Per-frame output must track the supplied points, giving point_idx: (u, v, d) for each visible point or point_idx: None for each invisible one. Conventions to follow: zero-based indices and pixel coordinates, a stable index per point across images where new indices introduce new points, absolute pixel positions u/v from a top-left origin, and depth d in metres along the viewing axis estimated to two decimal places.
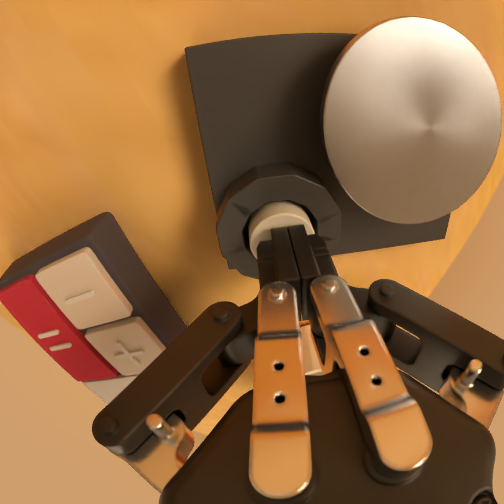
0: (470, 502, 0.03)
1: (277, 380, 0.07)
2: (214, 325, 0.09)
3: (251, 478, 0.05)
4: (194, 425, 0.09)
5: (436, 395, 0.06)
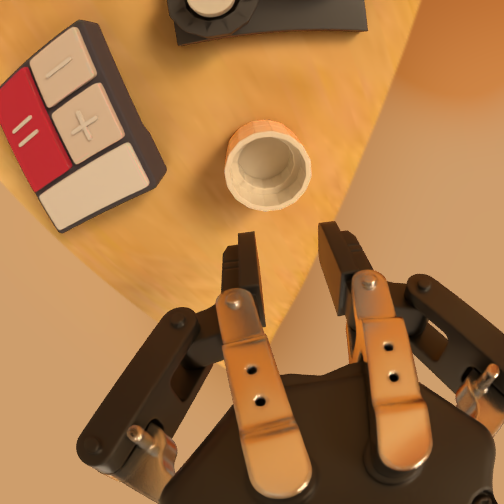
0: (470, 502, 0.03)
1: (253, 384, 0.07)
2: (172, 331, 0.09)
3: (253, 484, 0.04)
4: (173, 433, 0.08)
5: (436, 395, 0.06)
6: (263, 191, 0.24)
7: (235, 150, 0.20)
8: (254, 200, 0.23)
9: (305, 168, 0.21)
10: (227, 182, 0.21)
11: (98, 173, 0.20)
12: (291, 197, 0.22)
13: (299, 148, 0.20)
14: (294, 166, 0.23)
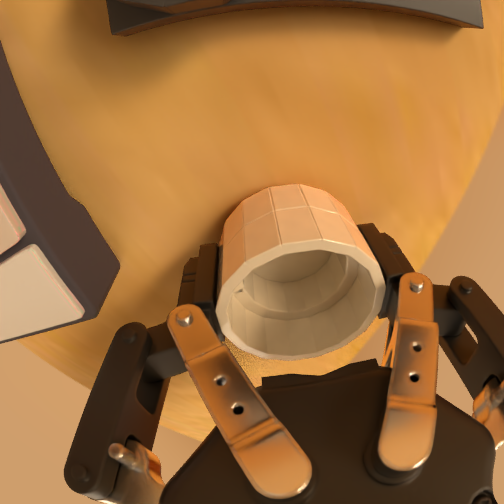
0: (470, 502, 0.03)
1: (226, 394, 0.07)
2: (127, 346, 0.09)
3: (259, 490, 0.04)
4: (151, 447, 0.08)
5: (436, 395, 0.06)
6: (287, 315, 0.13)
7: (237, 277, 0.09)
8: (272, 339, 0.12)
9: (373, 298, 0.11)
10: (222, 327, 0.11)
11: (5, 289, 0.10)
12: (338, 339, 0.12)
13: (370, 268, 0.09)
14: (345, 277, 0.12)
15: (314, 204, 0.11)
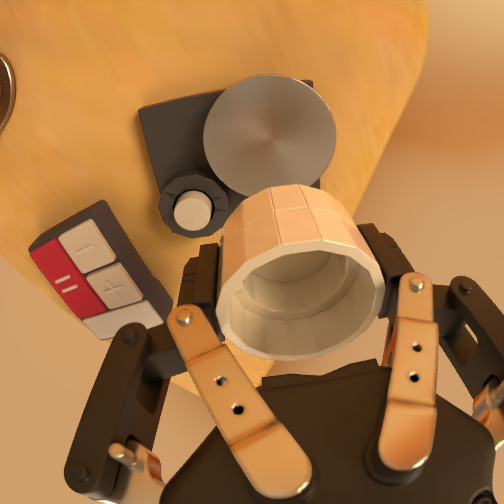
0: (470, 502, 0.03)
1: (226, 394, 0.07)
2: (127, 346, 0.09)
3: (259, 490, 0.04)
4: (151, 447, 0.08)
5: (436, 395, 0.06)
6: (287, 315, 0.13)
7: (237, 278, 0.09)
8: (272, 340, 0.13)
9: (372, 298, 0.11)
10: (222, 328, 0.11)
11: (127, 315, 0.31)
12: (338, 339, 0.12)
13: (370, 269, 0.09)
14: (345, 277, 0.12)
15: (314, 205, 0.11)
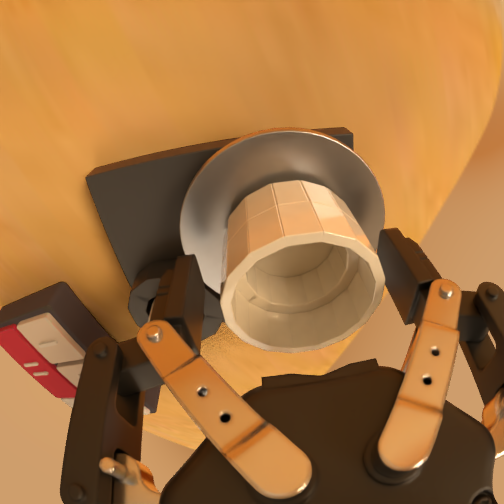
0: (470, 502, 0.03)
1: (210, 404, 0.06)
2: (100, 361, 0.08)
3: (263, 493, 0.04)
4: (139, 459, 0.08)
5: None
6: (289, 308, 0.14)
7: (241, 269, 0.10)
8: (275, 332, 0.13)
9: (372, 290, 0.11)
10: (226, 319, 0.11)
11: None
12: (339, 331, 0.12)
13: (370, 261, 0.10)
14: (346, 270, 0.13)
15: (315, 199, 0.11)
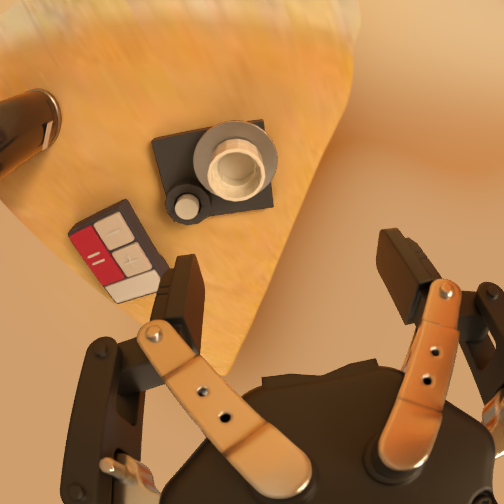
0: (470, 502, 0.03)
1: (210, 404, 0.06)
2: (100, 361, 0.08)
3: (263, 493, 0.04)
4: (139, 459, 0.08)
5: None
6: (235, 188, 0.35)
7: (214, 161, 0.31)
8: (228, 194, 0.34)
9: (261, 172, 0.32)
10: (209, 182, 0.32)
11: (139, 281, 0.45)
12: (252, 191, 0.33)
13: (255, 159, 0.31)
14: (255, 170, 0.33)
15: (240, 143, 0.32)
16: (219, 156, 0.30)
